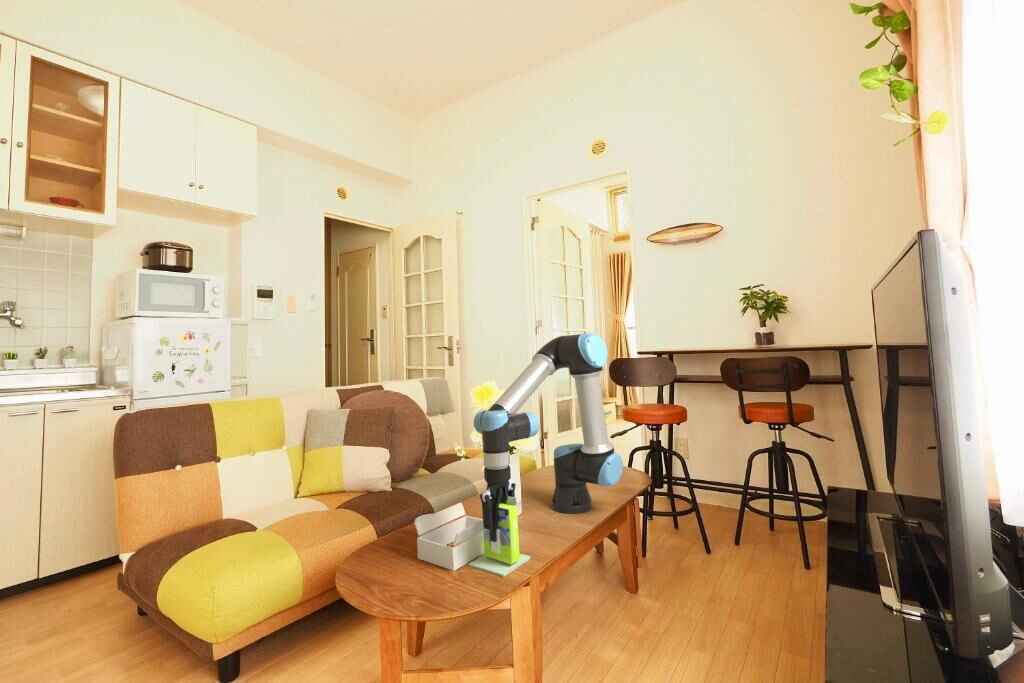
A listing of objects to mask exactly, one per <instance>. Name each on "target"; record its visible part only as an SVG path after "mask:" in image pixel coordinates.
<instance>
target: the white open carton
mask: <svg viewBox="0 0 1024 683" xmlns="http://www.w3.org/2000/svg"><path fill="white" fill-rule="evenodd" d="M482 520H483V518H479V517H474V516H468V515H463V516H461V518H460V517H459V518H457V519H456V520H455V519H454V520H452V521H450V522H448V523H446V524H445V525H442V527H440V528H438V529H436V530H434V531H431V532H429V533H427V534H425V535H423V536H421V537H419V536H418V537H417V538H416V546H417V548H416V549H417V559H418V560H421V561H423V560H424V562H426V561H427V563H429V562H430V564H432V563H433V565H435V564H436V566H438V565H439V567H441V568H445V569H447V570H450V571H453V572H454V571H456V570H457V569H460V568H462V567H463V566H465V565H466V564H469V563H471V562H472V561H474V560H476V559H478V558H479V557H481V556H483V555H484V535H483V531H482V532H480V533H478V534H476V535H474V536H472V537H470V538H469V539H467V540H465V541H463V542H461V543H459V544H457V545H455V546H453V547H452V546H448V545H450V544H452V543H454V540H455V537H456V534H457V532H459V531H462V530H464V529H466V528H468V527H470V526H472V525H474V524H476V523H478V522H480V521H482ZM451 542H452V543H451ZM447 544H448V545H447Z"/></svg>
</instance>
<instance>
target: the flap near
mask: <svg viewBox="0 0 1024 683" xmlns="http://www.w3.org/2000/svg"><path fill="white" fill-rule="evenodd" d="M482 531H483V520H482V521H480V522H478V523H476V524H474V525H472V526H470V527H468V528H466V529H464V530H462V531H459V532H457V534H456V537H455V540H454V542H452V543H453V544H452V545H453V547H455V546H457V545H459V544H461V543H462V542H464V541H466V540H468V539H470V538H472V537H473V536H474V535H476V534H478V533H480V532H482Z"/></svg>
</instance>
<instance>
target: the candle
mask: <svg viewBox="0 0 1024 683" xmlns="http://www.w3.org/2000/svg"><path fill="white" fill-rule="evenodd" d="M432 514H433V513H426V514H423V515H420V516H418V517H415V519H414V522H415V521H418V520H420V519H423V518H425V517H427V516H430V515H432ZM442 526H443V525H440V526H438V527H436V528H434V529H432V530H429V531H427V532H425V533H423V534H421V535H418V534H417V536H418V537H421V536H423V535H425V534H427V533H429V532H431V531H434V530H436V529H438V528H440V527H442Z"/></svg>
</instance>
